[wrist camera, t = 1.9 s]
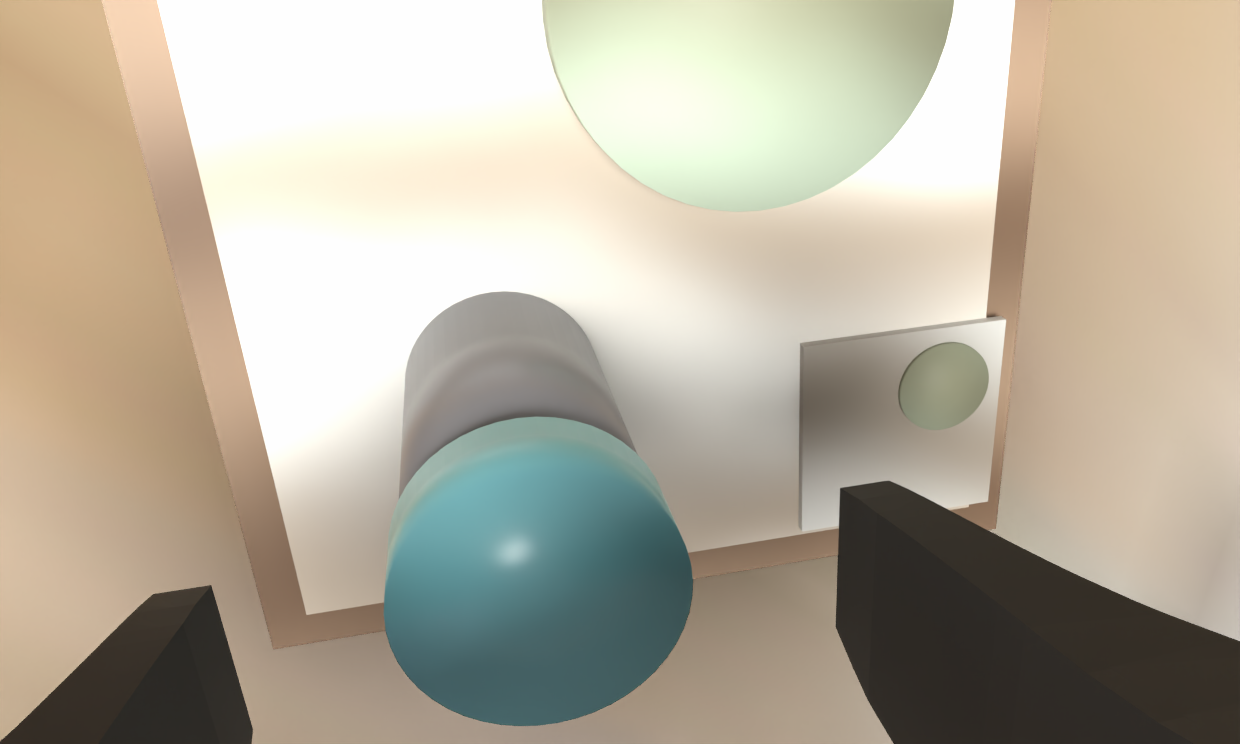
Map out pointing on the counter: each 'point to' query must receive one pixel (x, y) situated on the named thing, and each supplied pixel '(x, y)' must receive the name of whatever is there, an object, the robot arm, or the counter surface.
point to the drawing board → (595, 246)
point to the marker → (525, 523)
